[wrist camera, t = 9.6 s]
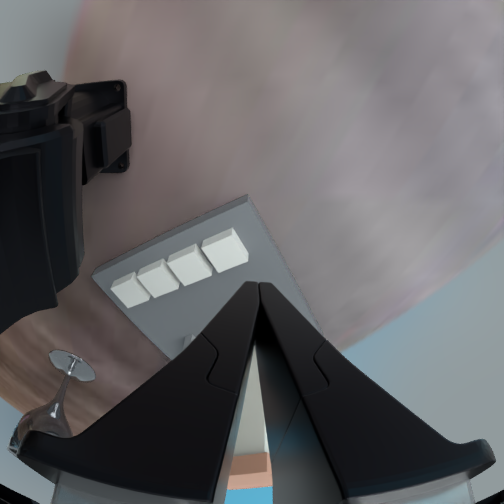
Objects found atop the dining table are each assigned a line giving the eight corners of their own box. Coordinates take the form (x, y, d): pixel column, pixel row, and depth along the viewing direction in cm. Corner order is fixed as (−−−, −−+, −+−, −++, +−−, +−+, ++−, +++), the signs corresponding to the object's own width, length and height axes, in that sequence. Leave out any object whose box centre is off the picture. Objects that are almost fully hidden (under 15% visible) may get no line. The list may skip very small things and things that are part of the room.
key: (212, 355, 30) (199, 477, 20) (265, 340, 29) (266, 471, 19) (235, 378, 33) (229, 489, 22) (284, 365, 31) (290, 483, 21)
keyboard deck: (96, 268, 26) (82, 292, 24) (247, 194, 22) (246, 216, 20) (195, 372, 35) (192, 396, 32) (324, 335, 31) (329, 361, 28)
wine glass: (94, 358, 34) (58, 468, 22) (101, 389, 39) (75, 484, 26) (40, 340, 33) (-4, 439, 21) (53, 373, 38) (20, 461, 25)
